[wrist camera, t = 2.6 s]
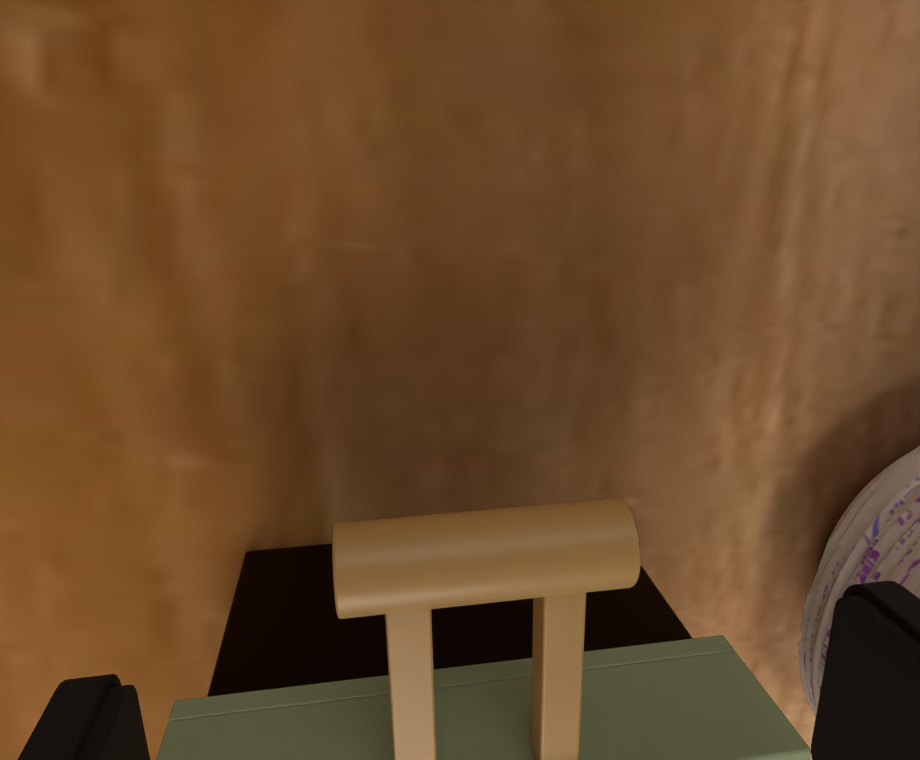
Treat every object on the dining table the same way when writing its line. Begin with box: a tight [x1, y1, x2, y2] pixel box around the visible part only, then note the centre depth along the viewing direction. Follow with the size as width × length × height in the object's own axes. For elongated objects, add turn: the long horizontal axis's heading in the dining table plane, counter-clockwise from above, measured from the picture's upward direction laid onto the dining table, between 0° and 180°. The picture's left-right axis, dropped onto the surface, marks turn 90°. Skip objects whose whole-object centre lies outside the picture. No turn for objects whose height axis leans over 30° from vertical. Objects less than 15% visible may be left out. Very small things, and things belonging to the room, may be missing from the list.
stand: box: [207, 544, 692, 697], centre depth 21 cm, size 17×9×8 cm, turn 91°
